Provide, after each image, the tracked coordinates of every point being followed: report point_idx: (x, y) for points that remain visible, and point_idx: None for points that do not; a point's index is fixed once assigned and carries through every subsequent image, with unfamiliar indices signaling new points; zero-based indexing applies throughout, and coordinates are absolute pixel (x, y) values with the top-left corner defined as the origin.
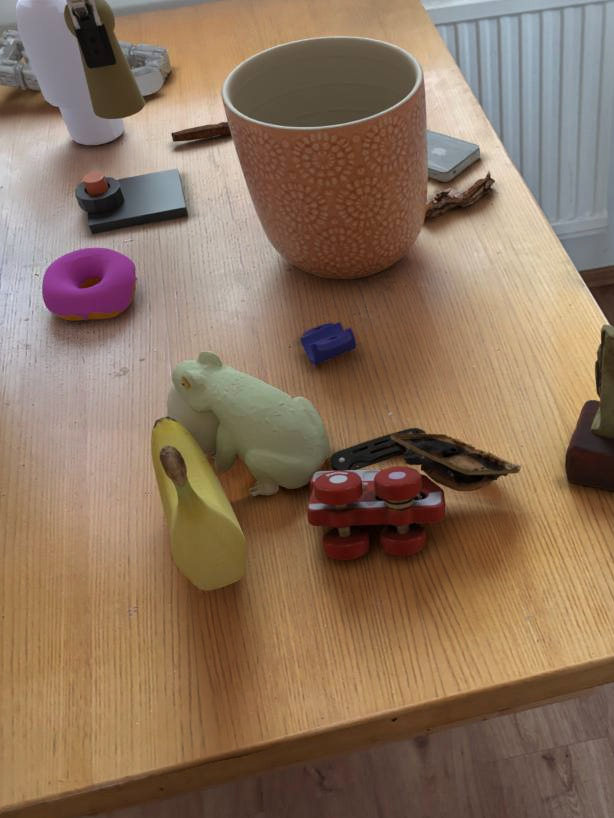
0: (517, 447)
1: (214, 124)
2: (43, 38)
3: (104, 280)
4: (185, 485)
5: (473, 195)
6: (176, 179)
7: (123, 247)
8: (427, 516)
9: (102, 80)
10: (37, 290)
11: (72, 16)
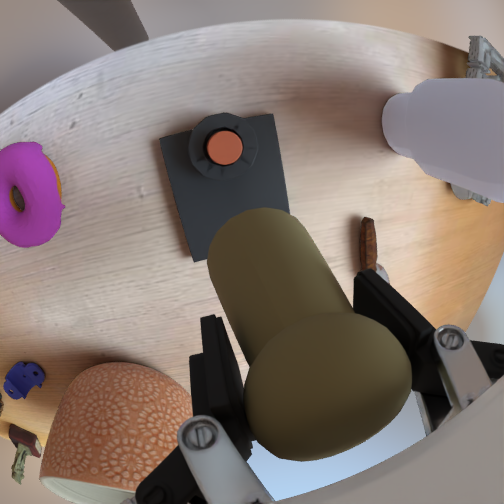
0: (16, 417)
1: (372, 266)
2: (479, 114)
3: (3, 228)
4: None
5: None
6: None
7: (127, 188)
8: None
9: (225, 301)
10: (52, 109)
11: (188, 464)
